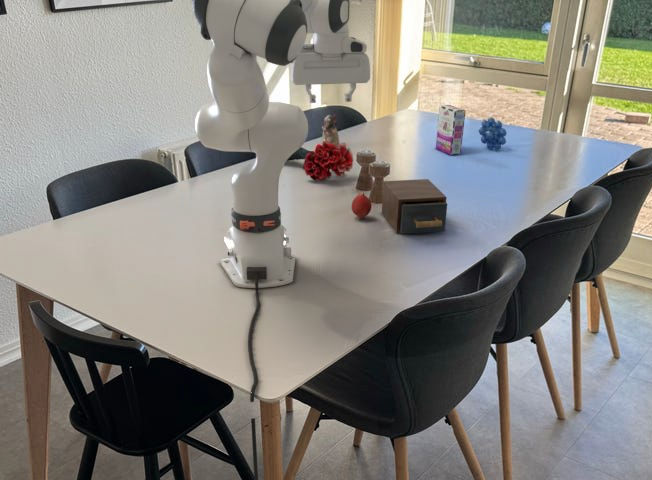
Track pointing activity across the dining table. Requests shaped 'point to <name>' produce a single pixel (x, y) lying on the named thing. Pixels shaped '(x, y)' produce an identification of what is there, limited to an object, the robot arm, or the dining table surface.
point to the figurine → (330, 131)
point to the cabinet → (406, 197)
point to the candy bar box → (450, 129)
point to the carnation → (325, 160)
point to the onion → (361, 205)
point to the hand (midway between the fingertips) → (330, 101)
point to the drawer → (423, 216)
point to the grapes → (492, 133)
